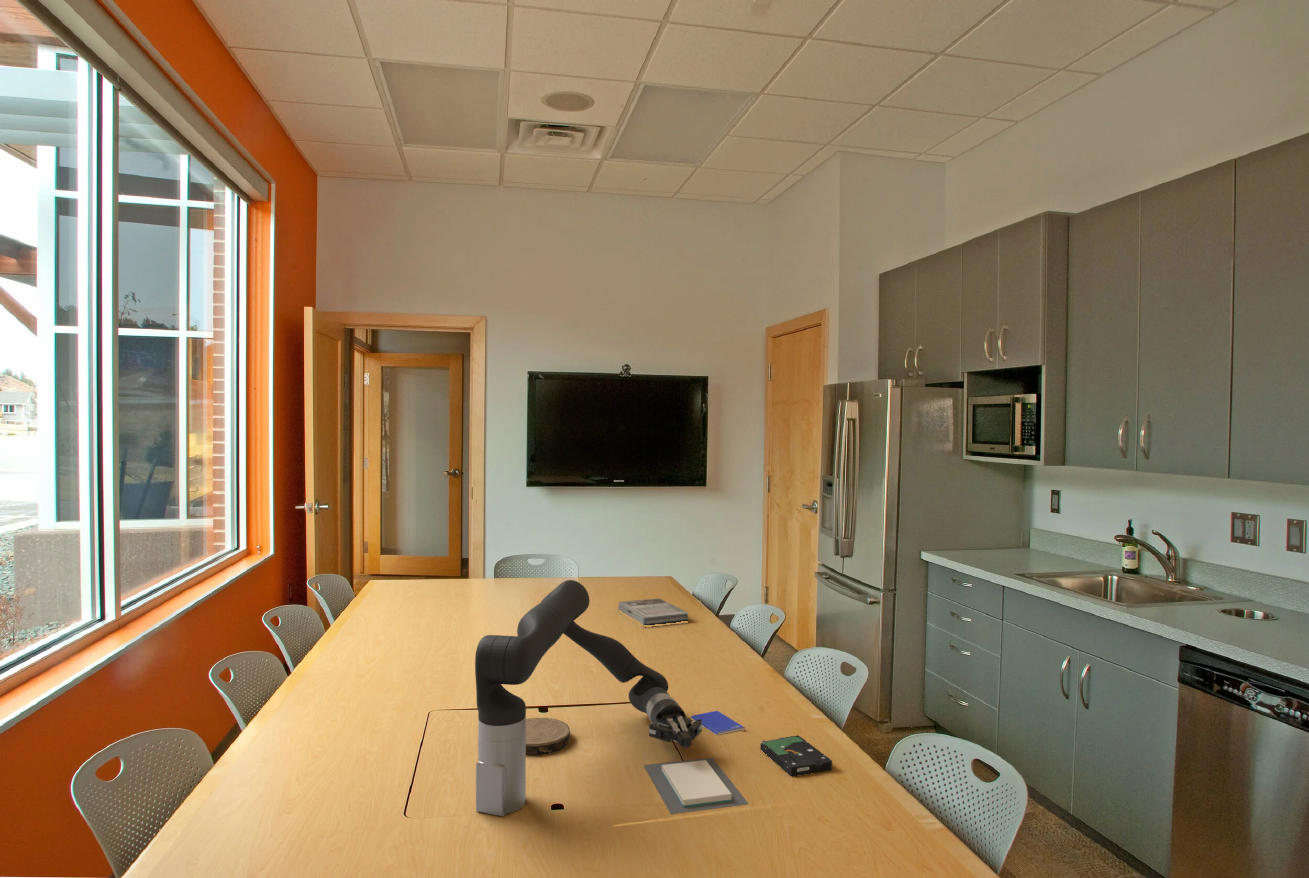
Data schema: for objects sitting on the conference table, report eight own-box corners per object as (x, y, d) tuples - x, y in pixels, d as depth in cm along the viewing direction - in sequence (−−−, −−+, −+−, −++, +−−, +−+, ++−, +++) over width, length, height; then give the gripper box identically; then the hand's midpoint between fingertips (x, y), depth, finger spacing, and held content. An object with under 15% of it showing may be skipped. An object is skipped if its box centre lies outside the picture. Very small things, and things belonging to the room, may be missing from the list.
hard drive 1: (644, 629, 286) (644, 617, 286) (617, 613, 311) (617, 602, 311) (688, 624, 294) (689, 612, 294) (659, 608, 318) (659, 598, 318)
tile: (661, 765, 167) (683, 800, 151) (705, 760, 169) (731, 794, 154) (661, 772, 167) (683, 807, 151) (705, 767, 169) (731, 801, 154)
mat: (643, 767, 170) (643, 765, 170) (712, 759, 174) (712, 757, 174) (670, 816, 149) (671, 814, 149) (748, 806, 153) (748, 804, 153)
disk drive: (833, 773, 169) (798, 745, 183) (833, 760, 169) (798, 734, 183) (791, 780, 165) (759, 751, 179) (791, 767, 165) (759, 739, 179)
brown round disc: (571, 755, 177) (571, 742, 177) (500, 759, 174) (500, 746, 174) (568, 728, 192) (568, 716, 192) (503, 731, 190) (503, 719, 190)
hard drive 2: (744, 726, 190) (718, 710, 201) (716, 732, 187) (691, 715, 198) (744, 732, 190) (718, 716, 201) (716, 739, 187) (691, 721, 198)
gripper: (638, 700, 180) (657, 729, 164) (692, 696, 184) (716, 723, 167) (638, 732, 181) (657, 764, 164) (692, 727, 184) (716, 757, 167)
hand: (687, 743), depth 165 cm, fingers closed
